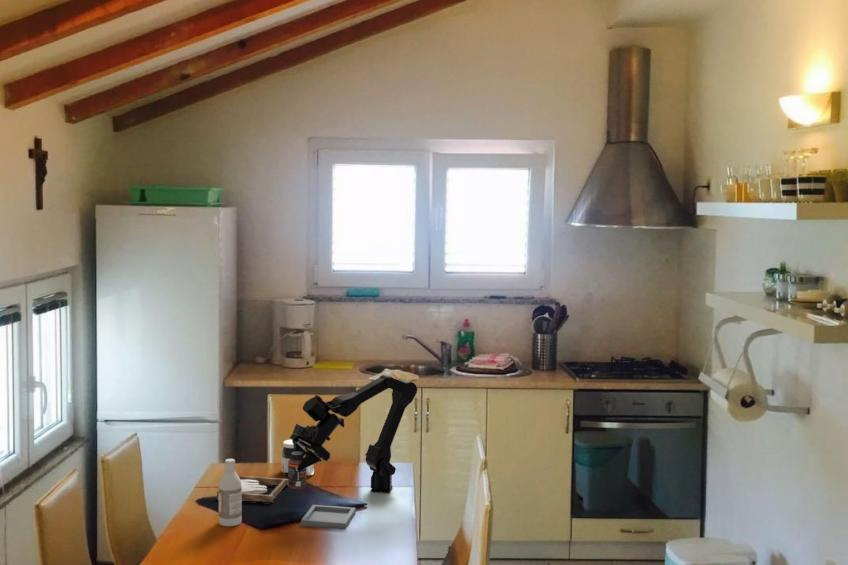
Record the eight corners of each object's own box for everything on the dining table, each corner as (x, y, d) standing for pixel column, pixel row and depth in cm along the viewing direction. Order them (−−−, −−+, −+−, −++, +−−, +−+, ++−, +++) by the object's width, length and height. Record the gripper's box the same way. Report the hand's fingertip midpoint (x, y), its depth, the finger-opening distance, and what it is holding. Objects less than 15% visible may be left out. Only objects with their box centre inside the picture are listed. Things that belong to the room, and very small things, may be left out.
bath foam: (217, 519, 288) (217, 457, 286) (240, 518, 290) (240, 455, 288) (219, 528, 281) (219, 464, 279) (242, 525, 283) (242, 462, 281)
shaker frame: (288, 486, 321) (288, 479, 321) (272, 503, 303) (272, 496, 303) (235, 482, 323) (235, 475, 323) (217, 499, 306) (217, 492, 305)
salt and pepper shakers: (236, 501, 305) (269, 498, 309) (237, 489, 304) (270, 486, 309) (229, 490, 316) (261, 487, 320) (229, 478, 315) (261, 475, 320)
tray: (355, 513, 296) (355, 507, 296) (345, 529, 282) (345, 523, 282) (313, 510, 298) (313, 504, 298) (301, 525, 284) (301, 520, 284)
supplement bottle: (303, 490, 297) (303, 456, 295) (285, 489, 298) (285, 454, 297) (309, 484, 303) (309, 451, 301) (291, 483, 304) (291, 449, 302)
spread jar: (280, 469, 339) (280, 438, 337) (310, 467, 342) (310, 436, 341) (285, 480, 327) (285, 448, 326) (316, 477, 331) (316, 445, 329)
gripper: (295, 408, 307) (264, 446, 302) (322, 421, 292) (290, 461, 287) (316, 428, 313) (286, 465, 308) (343, 441, 298) (313, 481, 293)
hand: (293, 467), depth 299 cm, fingers closed on supplement bottle, 6 cm apart
